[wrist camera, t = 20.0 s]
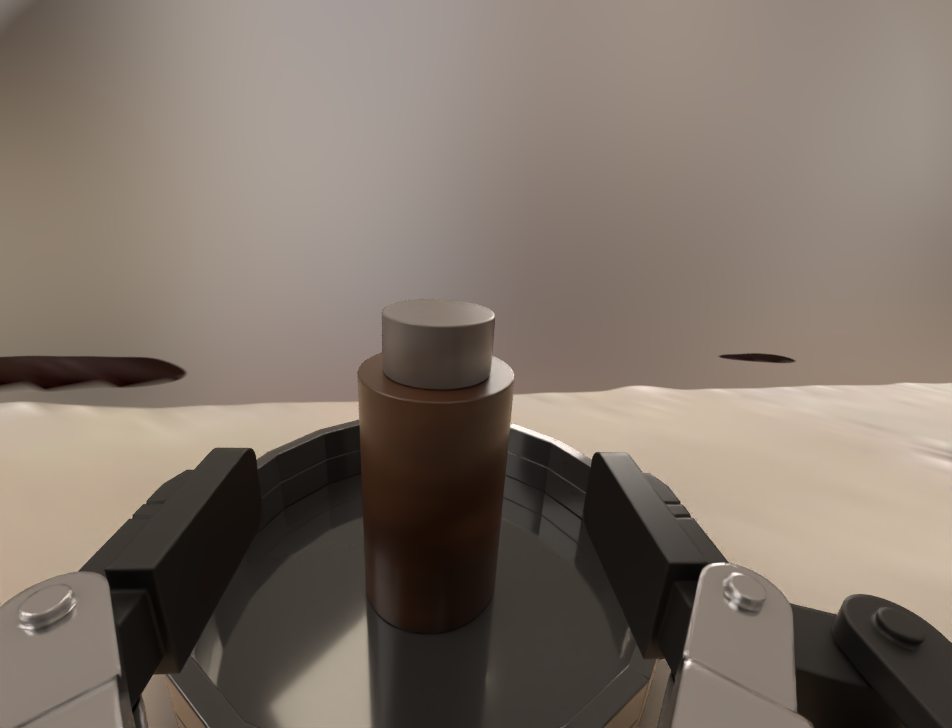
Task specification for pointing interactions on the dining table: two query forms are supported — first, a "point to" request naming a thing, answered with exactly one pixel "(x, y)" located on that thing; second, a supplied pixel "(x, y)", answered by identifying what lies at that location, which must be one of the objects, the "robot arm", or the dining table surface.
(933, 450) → the dining table surface
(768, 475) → the dining table surface
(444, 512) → the pepper mill
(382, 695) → the pan
